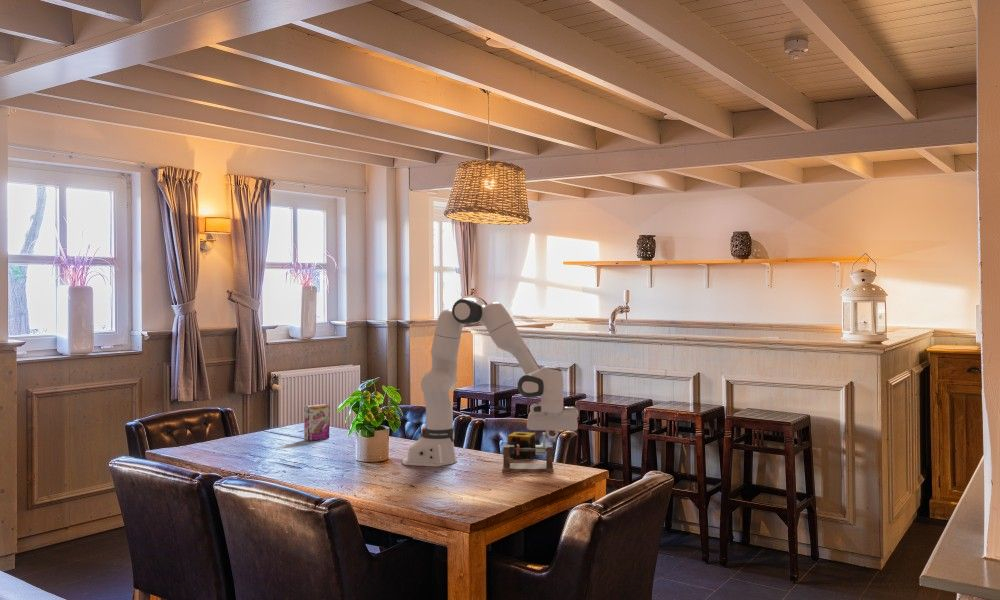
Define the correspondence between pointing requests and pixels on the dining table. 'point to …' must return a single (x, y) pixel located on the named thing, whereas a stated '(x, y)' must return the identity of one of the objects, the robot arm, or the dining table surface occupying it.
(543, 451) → the sleeve
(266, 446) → the dining table surface
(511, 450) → the rod stand
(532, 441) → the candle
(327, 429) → the candy bar box
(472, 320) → the robot arm
